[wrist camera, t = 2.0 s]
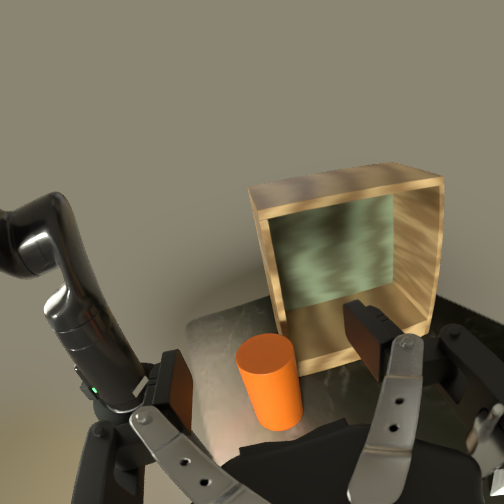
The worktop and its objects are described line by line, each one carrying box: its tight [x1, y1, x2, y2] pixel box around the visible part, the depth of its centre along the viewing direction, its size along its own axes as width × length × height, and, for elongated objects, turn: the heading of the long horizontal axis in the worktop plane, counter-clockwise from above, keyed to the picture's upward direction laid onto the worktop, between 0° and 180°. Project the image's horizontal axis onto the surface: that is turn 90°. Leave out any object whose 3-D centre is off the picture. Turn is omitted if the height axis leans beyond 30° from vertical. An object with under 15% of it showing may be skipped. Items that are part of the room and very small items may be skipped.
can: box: [236, 333, 303, 431], centre depth 28 cm, size 6×6×11 cm
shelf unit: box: [248, 162, 444, 377], centre depth 35 cm, size 22×12×23 cm, turn 95°
